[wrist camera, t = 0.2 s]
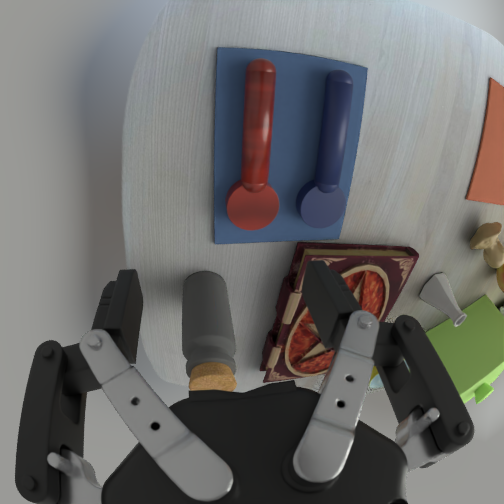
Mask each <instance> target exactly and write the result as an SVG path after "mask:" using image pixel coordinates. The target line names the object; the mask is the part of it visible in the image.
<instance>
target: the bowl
mask: <svg viewBox="0 0 504 504" xmlns="http://www.w3.org/2000/svg"><path fill="white" fill-rule="evenodd" d="M403 360H404V362H405V364H406V366H407V368H408V370H409V367H408V365H407V363H406V361H405V359H403ZM383 386H384V385H383V383H382V380H381V378H380V376H379V373H378V371H377V369H376V366H373V370H372V374H371V378H370V382H369V387H370V388H380V387H383Z"/></svg>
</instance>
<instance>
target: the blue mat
mask: <svg viewBox="0 0 504 504" xmlns="http://www.w3.org/2000/svg"><path fill="white" fill-rule="evenodd" d="M258 58H264V59H268V60H269V61H271V62H272V63H273V64H274V66H275V68H276V86H275V100H274V113H273V127H272V140H271V153H270V165H269V178H268V183H269V184H270V185H271V186H272V187H273V189H274V191H275V192H276V194H277V196H278V198H279V211H278V214H277V216H276V217H275V219H274V220H273V221H272V222H271V223H270V224H269V225H267V226H266V227H264V228H262V229H259V230H252V231H251V230H244V229H241V228H239V227H237V226H235V225H234V224H233V223H232V222H231V220H230V219H229V217H228V214H227V209H226V204H225V200H226V195H227V192H228V190H229V189H230V187H231V186H232V185H233V184H234V183H236V182H237V181H239V180H241V158H242V136H243V115H244V95H245V77H246V68H247V66H248V64H249V63H250V62H251V61H253V60H254V59H258ZM337 69H340V70H344V71H346V72H348V73H349V74H350V75H351V77H352V79H353V93H352V102H351V110H350V118H349V125H348V132H347V139H346V146H345V152H344V159H343V165H342V171H341V177H340V182H339V186H338V187H339V188H340V189H341V190H342V191H343V193H344V195H345V199H346V206H347V201H348V196H349V191H350V186H351V181H352V176H353V170H354V165H355V159H356V153H357V147H358V141H359V135H360V128H361V121H362V114H363V106H364V98H365V90H366V80H367V70H368V68H365V67H361V66H358V65H354V64H349V63H345V62H341V61H336V60H331V59H326V58H321V57H316V56H310V55H304V54H297V53H290V52H282V51H272V50H261V49H247V48H217V68H216V94H215V132H214V235H215V244H233V243H255V242H278V241H302V240H328V239H339V237H340V232H341V228H342V224H343V219H344V215H345V210H346V206H345V210H344V213H343V214H342V216H341V217H340V219H339V220H338V221H337V222H336V223H334V224H333V225H331V226H329V227H326V228H313V227H311V226H309V225H307V224H306V223H305V222H304V221H303V219H302V218H301V216H300V215H299V213H298V211H297V209H296V198H297V195H298V192H299V191H300V189H301V188H302V187H303V186H304V185H305V184H306V183H307V182H309V181H311V180H314V177H315V170H316V163H317V155H318V147H319V139H320V131H321V123H322V114H323V105H324V95H325V85H326V77H327V75H328V74H329V73H330V72H331V71H333V70H337Z"/></svg>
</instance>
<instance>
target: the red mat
mask: <svg viewBox="0 0 504 504" xmlns="http://www.w3.org/2000/svg"><path fill="white" fill-rule="evenodd" d="M466 199H467V200H472V201H480V202H486V203H493V204H499V205H504V87H503V86H501V85H500V84H499V83H498V82H496V81H495V80H494V79H492V78H490V81H489V92H488V101H487V108H486V115H485V121H484V127H483V133H482V138H481V143H480V147H479V152H478V156H477V160H476V164H475V168H474V172H473V176H472V179H471V183H470V186H469V190H468V193H467V196H466Z"/></svg>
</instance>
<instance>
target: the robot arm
mask: <svg viewBox="0 0 504 504" xmlns="http://www.w3.org/2000/svg"><path fill="white" fill-rule="evenodd" d="M302 295H303V298H304V301H305V303H306V305H307V308H308V310H309V312H310V315H311V317H312V319H313V322H314V324H315V326H316V329H317V331H318V333H319V336H320V338H321V340H322V343H323V345H324V347H325V349H326V348H332V347H333V348H334V350H335V352H334V355H333V357H332V360H331V362H330V365H329V367H328V370H327V372H326V375H325V377H324V380H323V382H322V384H321V386H320V389H319V391H318V392H315V391H313V390H310V389H306V388H301V387H296V385H295V381H294V380H291V381H285V382H278V383H271V384H267V385H264V386H262V387H259V388H256V389H254V390H251V391H248V392H245V393H239V392H231V391H224V390H217V389H212V390H193V391H189V398H187V399H183V400H181V401H178V402H177V403H175V404H173V405H172V406H170V407H169V408H168V407H167V405H166V404H165V403H164V402H163V401H162V400H161V399H160V397H159V396H158V395H157V394H156V393H155V392H154V391H153V389H152V388H151V387H150V385H149V384H148V383H147V382H146V381H145V379H144V378H143V377H142V376H141V374H140V373H139V372H138V371H137V369H136V368H135V367H134V366H131V365H130V364H136V354H137V346H138V338H139V331H140V323H141V317H142V310H143V296H142V291H141V287H140V283H139V279H138V274H137V271H136V269H130V270H120V271H119V274H118V277H117V280H116V281H110V282H109V283H108V284H107V286H106V287H105V288H104V290H103V293H102V296H101V299H100V302H99V306H98V309H97V312H96V315H95V319H94V322H93V326H92V329H91V330H90V331H88V332H87V333H85V334H84V335H83V336H82V338H81V340H80V343H77V344H74V345H70V346H66V347H61V345H60V344H59V343H58V342H57V341H53V340H49V341H46V342H44V343H42V344H41V345H40V346H39V347H38V348H37V350H36V352H35V355H34V359H33V363H32V366H31V370H30V374H29V378H28V383H27V387H26V392H25V397H24V402H23V408H22V413H21V419H20V426H19V434H18V443H17V452H16V468H15V483H16V487H17V489H18V491H19V493H20V494H21V495H22V496H23V497H24V498H25V499H26V500H28V501H30V502H33V503H36V504H408V503H407V499H406V479H407V472H410V471H412V470H414V469H416V468H418V467H419V468H426V467H429V466H431V465H433V464H434V463H436V462H438V461H440V460H442V459H443V458H445V457H447V456H448V455H450V454H452V453H453V452H455V451H457V450H458V449H460V448H462V447H463V446H465V445H466V444H468V443H469V442H470V441H471V440H472V438H473V435H474V425H473V422H472V420H471V418H470V416H469V413H468V412H467V409H466V407H465V405H464V403H463V401H462V399H461V397H460V395H459V393H458V391H457V389H456V387H455V385H454V383H453V381H452V379H451V377H450V375H449V373H448V372H447V370H446V368H445V366H444V364H443V362H442V361H441V359H440V357H439V355H438V354H437V352H436V350H435V348H434V347H433V345H432V343H431V342H430V340H429V338H428V336H427V335H426V333H425V332H424V330H423V328H422V327H421V325H420V323H419V322H418V321H417V320H416V319H415V318H413V317H411V316H408V315H401V316H399V317H397V319H396V320H395V322H394V323H388V322H380V321H378V319H377V318H376V317H375V316H374V315H373V314H372V313H370V312H367V311H363V310H362V308H361V306H360V305H359V303H358V301H357V300H356V298H355V297H354V295H353V293H352V292H351V290H350V288H349V287H348V285H346V282H345V280H344V279H343V277H342V276H341V275H340V274H339V273H338V272H336V271H335V270H330V269H329V267H328V266H327V264H326V263H325V261H324V260H314V261H308V262H307V265H306V269H305V274H304V279H303V284H302ZM403 359H405V361H406V363H407V365H408V367H409V370H410V372H409V370H408V368H407V366H406V364H405V362H404V360H403ZM373 366H376V369H377V371H378V373H379V376H380V378H381V380H382V383H383V385H384V388H385V390H386V392H387V395H388V397H389V400H390V402H391V405H392V407H393V410H394V412H395V415H396V418H397V420H398V423H399V425H398V427H397V429H396V439H395V441H396V443H395V442H394V441H392V440H391V439H389V438H388V437H386V436H384V435H382V434H381V433H379V432H378V431H376V430H374V429H373V428H371V427H370V426H368V425H367V424H365V423H363V422H362V421H360V420H359V416H360V413H361V409H362V406H363V403H364V400H365V396H366V393H367V389H368V386H369V382H370V378H371V374H372V370H373ZM101 388H102V390H103V391H104V393H105V394H106V396H107V397H108V399H109V400H110V402H111V403H112V405H113V406H114V408H115V409H116V411H117V412H118V414H119V415H120V416H121V418H122V419H123V421H124V422H125V424H126V425H127V426H128V428H129V429H130V430H131V432H132V433H133V434H134V436H135V437H136V438H137V440H139V443H138V444H137V445H136V446H135V447H134V448H133V450H132V451H131V452H130V453H129V454H128V455H127V457H126V458H125V459H124V460H123V461H122V462H121V464H120V465H119V466H118V467H117V468H116V470H115V471H114V472H113V473H112V474H111V475H110V476H109V478H108V479H107V480H106V481H105V483H104V485H103V488H102V487H101V486H100V485H99V483H98V482H97V480H96V476H95V471H94V469H93V467H92V466H91V464H90V463H89V462H87V461H86V460H85V459H83V446H84V421H85V408H86V397H87V392H89V391H93V390H97V389H101Z"/></svg>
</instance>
